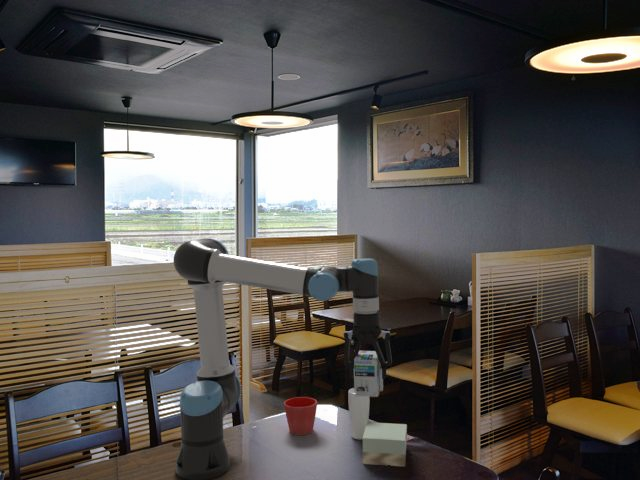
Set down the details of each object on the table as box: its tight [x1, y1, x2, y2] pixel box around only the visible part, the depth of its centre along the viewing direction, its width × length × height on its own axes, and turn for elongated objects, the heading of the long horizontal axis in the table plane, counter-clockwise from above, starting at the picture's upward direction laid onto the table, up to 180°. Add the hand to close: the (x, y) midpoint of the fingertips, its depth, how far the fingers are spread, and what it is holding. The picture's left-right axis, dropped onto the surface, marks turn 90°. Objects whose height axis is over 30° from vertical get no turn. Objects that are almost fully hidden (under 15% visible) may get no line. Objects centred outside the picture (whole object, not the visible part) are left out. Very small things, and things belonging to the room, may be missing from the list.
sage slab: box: [362, 421, 408, 455], centre depth 161 cm, size 12×12×4 cm
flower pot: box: [283, 396, 318, 436], centre depth 181 cm, size 11×11×10 cm
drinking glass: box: [347, 387, 370, 440], centre depth 175 cm, size 7×7×15 cm
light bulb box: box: [354, 350, 381, 398], centre depth 161 cm, size 11×7×11 cm, turn 168°
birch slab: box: [362, 451, 407, 467], centre depth 162 cm, size 12×12×4 cm
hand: (368, 389), depth 161 cm, fingers closed on light bulb box, 7 cm apart
